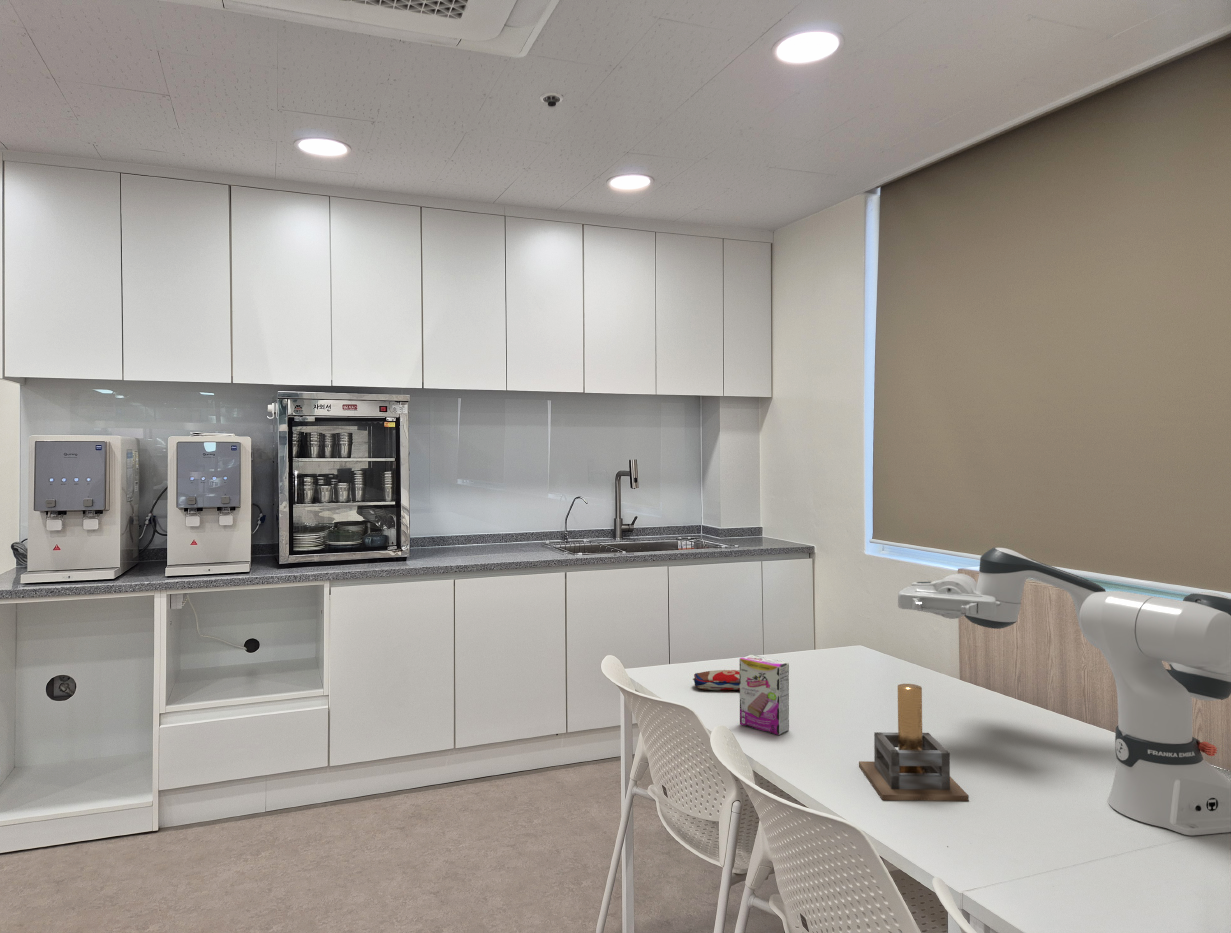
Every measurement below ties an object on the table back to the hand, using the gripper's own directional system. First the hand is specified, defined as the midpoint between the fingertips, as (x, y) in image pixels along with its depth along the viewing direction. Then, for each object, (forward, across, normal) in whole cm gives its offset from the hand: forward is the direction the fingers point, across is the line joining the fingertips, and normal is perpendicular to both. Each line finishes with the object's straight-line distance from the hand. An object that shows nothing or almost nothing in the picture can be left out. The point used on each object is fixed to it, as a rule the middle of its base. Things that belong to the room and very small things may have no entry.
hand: (940, 608), depth 166 cm
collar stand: (+18, +3, -32) cm, 37 cm away
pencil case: (-22, +59, -32) cm, 71 cm away
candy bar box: (+3, +39, -32) cm, 51 cm away
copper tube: (+17, +3, -31) cm, 36 cm away
